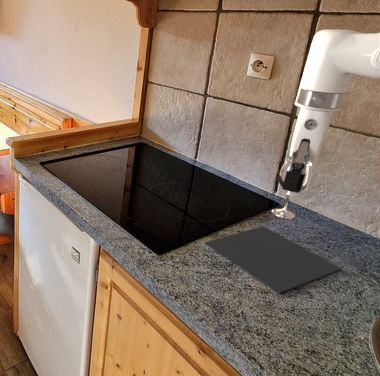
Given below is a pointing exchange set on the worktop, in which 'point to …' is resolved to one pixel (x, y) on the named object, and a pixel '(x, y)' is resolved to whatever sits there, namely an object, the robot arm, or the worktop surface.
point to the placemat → (272, 258)
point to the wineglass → (284, 212)
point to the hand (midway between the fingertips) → (292, 184)
